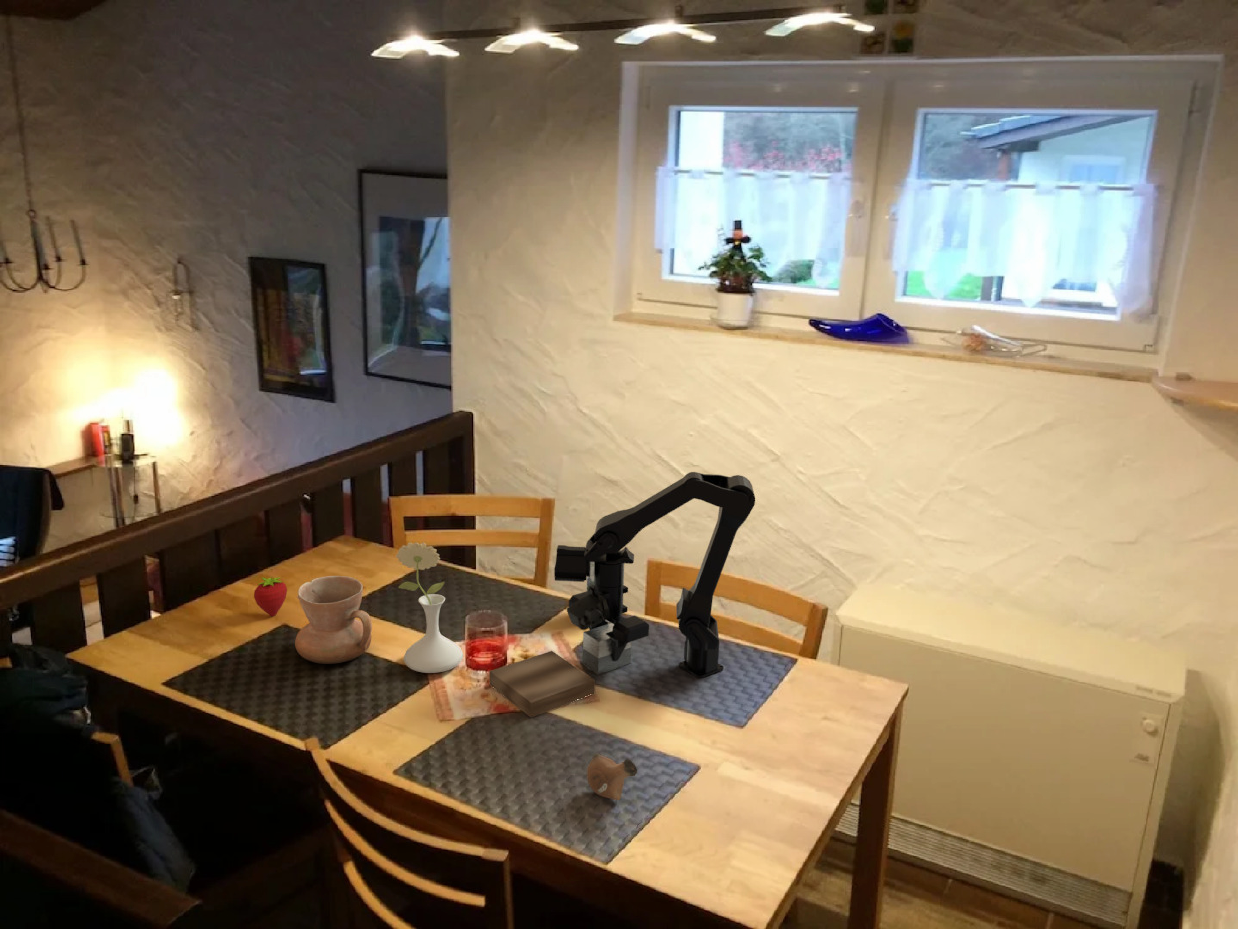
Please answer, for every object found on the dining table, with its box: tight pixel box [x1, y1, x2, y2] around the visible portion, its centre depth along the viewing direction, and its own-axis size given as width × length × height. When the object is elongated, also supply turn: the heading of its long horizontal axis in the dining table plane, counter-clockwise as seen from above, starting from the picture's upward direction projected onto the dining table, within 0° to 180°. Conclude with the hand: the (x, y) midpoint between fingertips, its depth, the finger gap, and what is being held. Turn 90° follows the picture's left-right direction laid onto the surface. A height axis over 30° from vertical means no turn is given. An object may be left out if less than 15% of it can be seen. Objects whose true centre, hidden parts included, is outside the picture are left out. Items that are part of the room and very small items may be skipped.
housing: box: [582, 623, 632, 675], centre depth 200 cm, size 8×5×7 cm, turn 128°
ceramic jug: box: [294, 575, 373, 665], centre depth 200 cm, size 18×14×14 cm
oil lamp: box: [586, 752, 638, 801], centre depth 159 cm, size 9×4×8 cm, turn 58°
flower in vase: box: [395, 542, 464, 674], centre depth 196 cm, size 13×11×25 cm
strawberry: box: [253, 576, 288, 617], centre depth 217 cm, size 6×8×10 cm
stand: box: [489, 650, 596, 718], centre depth 191 cm, size 14×14×3 cm
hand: (607, 655), depth 201 cm, fingers closed on housing, 5 cm apart
